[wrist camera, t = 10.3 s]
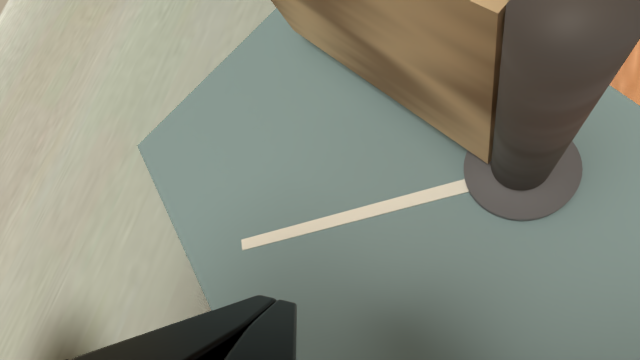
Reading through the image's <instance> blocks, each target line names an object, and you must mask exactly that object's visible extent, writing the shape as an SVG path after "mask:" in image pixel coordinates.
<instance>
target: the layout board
mask: <svg viewBox="0 0 640 360" xmlns="http://www.w3.org/2000/svg"><path fill="white" fill-rule="evenodd" d="M138 148H139V151H140V153H141V155H142V157H143V159H144V162H145V164H146V166H147V168H148V171H149V173H150V175H151V177H152V179H153V182H154V184H155V186H156V188H157V190H158V193H159V195H160V197H161V199H162V202H163V204H164V206H165V208H166V210H167V213H168V215H169V217H170V219H171V222H172V224H173V226H174V228H175V230H176V233H177V235H178V237H179V239H180V241H181V244H182V246H183V248H184V250H185V253H186V255H187V257H188V259H189V261H190V264H191V266H192V268H193V270H194V273H195V275H196V277H197V279H198V281H199V284H200V286H201V288H202V290H203V293H204V295H205V297H206V299H207V301H208V304H209V306H210V308H211V310H215V309H218V308H221V307H224V306H227V305H230V304H233V303H236V302H239V301H242V300H244V299H247V298H250V297H253V296H256V295H263V296H268V297H272V298H275V299H276V300H279V299H280V300H285V301H290V302H294V303H296V305H297V338H296V360H640V106H639V105H638V104H636V103H635V102H633V101H632V100H630V99H629V98H627V97H626V96H625V95H623V94H622V93H620V92H619V91H617V90H616V89H614V88H613V87H611V86H610V85H609V86H608V87H607V89H606V90H605V92H604V94H603V95H602V97H601V98H600V100H599V101H598V103H597V104H596V106H595V107H594V109H593V110H592V112H591V113H590V115H589V116H588V118H587V119H586V121H585V122H584V124H583V125H582V127H581V128H580V130H579V131H578V133H577V134H576V136H575V137H574V139H573V140H572V142H571V143H570V145H569V146H568V148H567V149H566V151H565V152H564V154H563V155H562V157H561V158H560V160H559V161H558V163H557V164H556V166H555V167H554V169H553V170H552V172H551V173H550V175H549V176H548V178H547V179H546V180H545V181H544V182H543V183H542V184H541V185H539V186H538V187H536V188H533V189H530V190H513V189H510V188H507V187H505V186H503V185H502V184H501V183H499V182H498V181H497V180H496V178H495V177H494V175H493V173H492V170H491V161H490V162H489V163H488V164H487V163H486V162H484V161H483V160H481V159H480V158H478V157H477V156H475V155H474V154H472V153H471V152H470V151H468V150H467V149H465V148H464V147H462V146H461V145H459V144H458V143H456V142H455V141H454V140H452V139H451V138H449V137H448V136H446V135H445V134H443V133H442V132H441V131H439V130H438V129H436V128H435V127H433V126H432V125H430V124H429V123H427V122H426V121H425V120H423V119H422V118H420V117H419V116H417V115H416V114H414V113H413V112H411V111H410V110H409V109H407V108H406V107H404V106H403V105H401V104H400V103H398V102H397V101H395V100H394V99H393V98H391V97H390V96H388V95H387V94H385V93H384V92H382V91H381V90H379V89H378V88H377V87H375V86H374V85H372V84H371V83H369V82H368V81H366V80H365V79H363V78H362V77H361V76H359V75H358V74H356V73H355V72H353V71H352V70H350V69H349V68H348V67H346V66H345V65H343V64H342V63H340V62H339V61H337V60H336V59H334V58H333V57H332V56H330V55H329V54H327V53H326V52H324V51H323V50H321V49H320V48H318V47H317V46H316V45H314V44H313V43H311V42H310V41H308V40H307V39H305V38H304V37H302V36H301V35H300V34H298V33H297V32H295V31H294V30H293V29H292V28H291V26H290V25H289V24H288V22H287V21H286V20H285V18H284V17H283V16H282V14H281V13H280V12H279V10H278V9H277V8H276V9H275V10H274V11H273V12H272V13H271V14H270V15H269V16H268V17H267V18H266V19H265V20H264V21H263V22H262V23H261V24H260V25H259V26H258V27H257V28H256V29H255V30H254V31H253V32H252V33H251V34H250V35H249V36H248V37H247V38H246V39H245V40H244V41H243V42H242V43H241V44H240V45H239V46H238V47H237V48H236V49H235V50H234V51H233V52H232V53H231V54H230V55H229V56H228V57H227V58H226V59H225V60H224V61H223V62H221V63H220V64H219V65H218V66H217V67H216V68H215V69H214V70H213V71H212V72H211V73H210V74H209V75H208V76H207V77H206V78H205V79H204V80H203V81H202V82H201V83H200V84H199V85H198V86H197V87H196V88H195V89H194V90H193V91H192V92H191V93H190V94H189V95H188V96H187V97H186V98H185V99H184V100H183V101H182V102H181V103H180V104H179V105H178V106H177V107H176V108H175V109H174V110H173V111H172V112H171V113H170V114H169V115H168V116H167V117H166V118H165V119H164V120H163V121H162V122H161V123H160V124H159V125H158V126H157V127H156V128H155V129H154V130H153V131H152V132H151V133H150V134H149V135H148V136H147V137H146V138H145V139H144V140H143V141H142V142H141V143H140V144H139V145H138Z"/></svg>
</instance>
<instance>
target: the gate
mask: <svg viewBox="0 0 640 360" xmlns="http://www.w3.org/2000/svg"><path fill="white" fill-rule="evenodd" d="M271 1H272V2H273V4H274V5H275V6H276V8H277V9H278V10H279V12H280V13H281V14H282V16H283V17H284V18H285V20H286V21H287V22H288V24H289V25H290V26H291V28H292V29H293V30H294V31H295V32H297V33H298V34H300V35H301V36H302V37H304V38H305V39H307V40H308V41H310V42H311V43H313V44H314V45H316V46H317V47H318V48H320V49H321V50H323V51H324V52H326V53H327V54H329V55H330V56H332V57H333V58H334V59H336V60H337V61H339V62H340V63H342V64H343V65H345V66H346V67H348V68H349V69H350V70H352V71H353V72H355V73H356V74H358V75H359V76H361V77H362V78H363V79H365V80H366V81H368V82H369V83H371V84H372V85H374V86H375V87H377V88H378V89H379V90H381V91H382V92H384V93H385V94H387V95H388V96H390V97H391V98H393V99H394V100H395V101H397V102H398V103H400V104H401V105H403V106H404V107H406V108H407V109H409V110H410V111H411V112H413V113H414V114H416V115H417V116H419V117H420V118H422V119H423V120H425V121H426V122H427V123H429V124H430V125H432V126H433V127H435V128H436V129H438V130H439V131H441V132H442V133H443V134H445V135H446V136H448V137H449V138H451V139H452V140H454V141H455V142H456V143H458V144H459V145H461V146H462V147H464V148H465V149H467V150H468V151H470V152H471V153H472V154H474V155H475V156H477V157H478V158H480V159H481V160H483V161H484V162H486V163H487V164H488V163H489V162H490V161H491V170H492V173H493V175H494V177H495V178H496V180H497V181H498V182H499V183H501V184H502V185H503V186H505V187H507V188H510V189H513V190H530V189H533V188H536V187H538V186H539V185H541V184H542V183H543V182H544V181H545V180H546V179H547V178H548V176H549V175H550V173H551V172H552V170H553V169H554V167H555V166H556V164H557V163H558V161H559V160H560V158H561V157H562V155H563V154H564V152H565V151H566V149H567V148H568V146H569V145H570V143H571V142H572V140H573V139H574V137H575V136H576V134H577V133H578V131H579V130H580V128H581V127H582V125H583V124H584V122H585V121H586V119H587V118H588V116H589V115H590V113H591V112H592V110H593V109H594V107H595V106H596V104H597V103H598V101H599V100H600V98H601V97H602V95H603V94H604V92H605V90H606V89H607V87H608V86H609V84H610V83H611V81H612V80H613V78H614V77H615V75H616V74H617V72H618V71H619V69H620V68H621V66H622V65H623V63H624V62H625V60H626V59H627V57H628V56H629V54H630V53H631V51H632V50H633V48H634V47H635V45H636V44H637V42H638V41H639V39H640V0H271Z"/></svg>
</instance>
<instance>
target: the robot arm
mask: <svg viewBox="0 0 640 360" xmlns="http://www.w3.org/2000/svg"><path fill="white" fill-rule="evenodd" d="M296 338H297V305H296V303H294V302H290V301H285V300H280V299H279V300H276V299H275V298H272V297H268V296H263V295H256V296H253V297H250V298H247V299H244V300H242V301H239V302H236V303H233V304H230V305H227V306H224V307H221V308H218V309H215V310H212V311H209V312H206V313H203V314H200V315H198V316H195V317H192V318H189V319H186V320H183V321H180V322H177V323H174V324H171V325H168V326H165V327H162V328H159V329H156V330H154V331H151V332H148V333H145V334H142V335H139V336H136V337H133V338H130V339H127V340H124V341H121V342H118V343H115V344H112V345H110V346H107V347H104V348H101V349H98V350H95V351H92V352H89V353H86V354H83V355H80V356H77V357H75V358H73V359H72V360H296ZM66 360H68V359H66Z"/></svg>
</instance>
